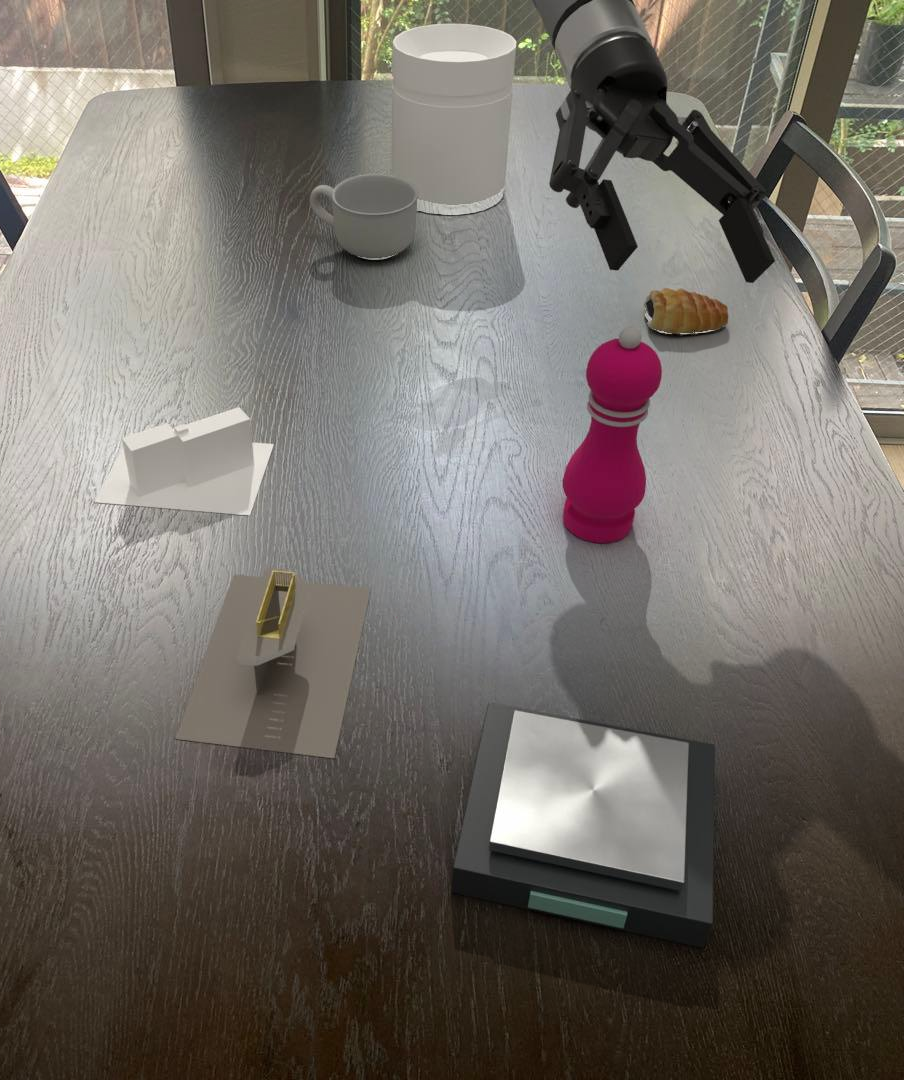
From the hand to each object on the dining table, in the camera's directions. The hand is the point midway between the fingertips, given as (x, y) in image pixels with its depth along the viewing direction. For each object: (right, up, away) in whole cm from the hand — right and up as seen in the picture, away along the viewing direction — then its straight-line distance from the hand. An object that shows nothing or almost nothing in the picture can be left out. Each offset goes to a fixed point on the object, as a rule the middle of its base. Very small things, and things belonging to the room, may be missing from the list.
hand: (694, 265), depth 84 cm
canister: (-14, +28, +69) cm, 76 cm away
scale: (-11, -41, -10) cm, 44 cm away
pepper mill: (-5, -20, +15) cm, 25 cm away
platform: (-32, -31, +2) cm, 45 cm away
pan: (-11, -39, -12) cm, 42 cm away
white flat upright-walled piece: (-43, -15, +20) cm, 50 cm away
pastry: (+11, +4, +41) cm, 43 cm away
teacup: (-26, +16, +56) cm, 64 cm away
